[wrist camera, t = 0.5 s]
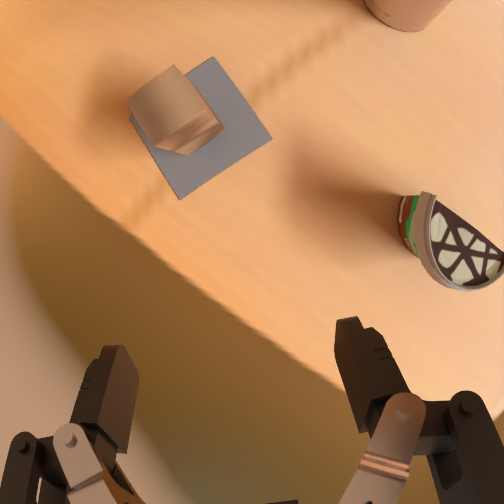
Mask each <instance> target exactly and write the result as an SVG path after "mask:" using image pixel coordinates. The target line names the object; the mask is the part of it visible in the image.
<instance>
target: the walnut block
mask: <svg viewBox="0 0 504 504" xmlns="http://www.w3.org/2000/svg"><path fill="white" fill-rule="evenodd" d="M126 103H127V105H128V106H129V108H130V110H131V111H132V113H133V115H134V116H135V118H136V120H137V121H138V123H139V124H140V126H141V128H142V129H143V131H144V133H145V134H146V136H147V138H148V139H149V141H150V142H151V144H152V146H154V147H158V148H162V149H165V150H169V151H172V152H176V153H179V154H183V155H186V156H190V155H191V154H192V153H194V152H195V151H197V150H198V149H200V148H201V147H202V146H204V145H205V144H207V143H208V142H210V141H211V140H213V139H214V138H216V137H217V136H219V135H220V134H222V133H223V132H225V131H226V130H227V129H226V128H225V127H224V125H223V124H222V122H221V121H220V119H219V118H218V116H217V115H216V113H215V112H214V110H213V109H212V107H211V106H210V105H209V103H208V102H207V100H206V99H205V97H204V96H203V95H202V94H201V93H200V91H199V90H198V89H197V88H196V87H195V86H194V85H193V84H192V83H191V82H190V81H189V80H188V79H187V78H186V77H185V76H184V75H183V73H182V72H181V71H180V70H179V69H178V68H177V67H176V66H175V65H174V64H173V65H172V66H171V67H169V68H168V69H166V70H165V71H164V72H162V73H161V74H159V75H158V76H157V77H155V78H154V79H153V80H151V81H150V82H149V83H147V84H146V85H145V86H143V87H142V88H141V89H140V90H138V91H137V92H136V93H135V94H133V95H132V96H131V97H130V98H128V99H127V100H126Z"/></svg>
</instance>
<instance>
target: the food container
mask: <svg viewBox="0 0 504 504" xmlns="http://www.w3.org/2000/svg"><path fill="white" fill-rule="evenodd" d="M436 198H437V195H432V194H431V193H427V192H423V191H421V194H420V195H415V196H402V199H401V202H400V204H399V209H398V217H397V221H398V229H399V234H400V236H401V238H402V240H403V243H404V244H405V246H406V247H407V248H408V249H409V250H410V251H411V252H412V253H413V254H414V255H416V256H417V257H418V258H419V259H420V260H421V263H422V265H423V266H424V268H425V269H426V271H427V273H428V274H429V275H430V276H431V277H432V278H433V279H434V280H435V281H437V282H438V283H439V284H441V285H443V286H445V287H447V288H451V289H456V290H460V291H473V290H478V289H482V288H485V287H487V286H489V285H491V284H493V283H494V282H495V281H497V280H498V279H499V278H500V277H501V276H502V275H503V274H504V252H503V251H501V250H500V249H499V248H497V247H496V246H495V245H494V244H493V243H492V242H490V241H489V240H488V239H487V238H486V237H485V236H484V235H482V234H481V233H480V232H479V231H478V230H477V229H475V228H474V227H473V226H471V225H470V224H469V223H467V222H466V221H465V220H463V219H462V218H460V217H459V216H458V215H456V214H455V213H454V212H452V211H451V210H450V209H448V208H447V207H446V206H444V205H443V204H441V203H440V202H438V201H437V200H436Z"/></svg>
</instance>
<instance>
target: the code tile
mask: <svg viewBox="0 0 504 504" xmlns="http://www.w3.org/2000/svg"><path fill="white" fill-rule="evenodd" d="M185 77H186V78H187V79H188V80H189V81H190V82H191V83H192V84H193V85H194V86H195V87H196V88H197V89H198V90H199V91H200V93H201V94H202V95H203V96H204V97H205V99H206V100H207V102H208V103H209V105H210V106H211V107H212V109H213V110H214V112H215V113H216V115H217V116H218V118H219V119H220V121H221V122H222V124H223V125H224V127H225V128H226V129H227V130H226V131H225V132H223V133H222V134H220V135H219V136H217V137H216V138H214V139H213V140H211V141H210V142H208V143H207V144H205V145H204V146H202V147H201V148H200V149H198V150H197V151H195V152H194V153H192V154H191V155H190V156H186V155H183V154H179V153H176V152H172V151H169V150H165V149H162V148H158V147H154V146H152V144H151V142H150V141H149V139H148V138H147V136H146V134H145V133H144V131H143V129H142V128H141V126H140V124H139V123H138V121H137V120H136V118H135V116H134V115H133V114H132V115H131V116H130V117H129V118H130V120H131V122H132V123H133V125H134V127H135V128H136V130H137V132H138V133H139V135H140V137H141V138H142V140H143V142H144V143H145V145H146V147H147V148H148V150H149V152H150V153H151V155H152V156H153V158H154V160H155V161H156V163H157V165H158V166H159V168H160V169H161V171H162V173H163V174H164V176H165V177H166V179H167V181H168V182H169V184H170V185H171V187H172V189H173V190H174V192H175V193H176V195H177V197H178V198H179V200H181V199H183V198H184V197H185V196H187V195H188V194H190V193H191V192H193V191H194V190H195V189H197V188H198V187H200V186H201V185H203V184H204V183H206V182H207V181H209V180H210V179H212V178H213V177H214V176H216V175H217V174H219V173H220V172H222V171H223V170H225V169H227V168H228V167H230V166H231V165H233V164H234V163H236V162H237V161H239V160H240V159H242V158H243V157H245V156H247V155H248V154H250V153H251V152H253V151H254V150H256V149H258V148H259V147H261V146H262V145H264V144H266V143H267V142H269V141H271V140H272V137H271V136H270V134H269V133H268V131H267V130H266V128H265V127H264V125H263V124H262V123H261V121H260V120H259V118H258V117H257V115H256V114H255V112H254V111H253V110H252V108H251V107H250V105H249V104H248V102H247V101H246V100H245V98H244V97H243V95H242V94H241V93H240V91H239V90H238V89H237V87H236V86H235V84H234V83H233V82H232V80H231V79H230V78H229V76H228V75H227V74H226V72H225V71H224V70H223V68H222V67H221V66H220V64H219V63H218V62H217V60H216V59H215V58H214V57H212V58H211V59H209V60H207V61H206V62H204V63H203V64H201V65H200V66H198V67H197V68H195V69H193V70H192V71H190V72H189V73H188V74H186V75H185Z"/></svg>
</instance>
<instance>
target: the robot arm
mask: <svg viewBox="0 0 504 504" xmlns="http://www.w3.org/2000/svg"><path fill="white" fill-rule="evenodd" d="M364 1H365V3H366V5H367V7H368V8H369V10H370V11H371V12H372V13H373V14H374V15H375V16H376V17H377V18H378V19H379V20H381V21H382V22H383V23H385V24H387V25H389V26H390V27H393V28H395V29H398V30H402V31H406V32H416V31H420V30H423V29H424V28H425V27H427V26H428V25H429V24H430V23H431V21H432V20H433V19H434V18H435V17H436V16H437V15H438V14H439V13H440V12H441V11H442V10H443V9H444V8H445V7H446V6H447V5H448V4H449V3H450V2H451V1H452V0H364ZM334 353H335V359H336V363H337V366H338V369H339V372H340V375H341V378H342V381H343V384H344V387H345V390H346V393H347V396H348V399H349V402H350V405H351V409H352V412H353V415H354V418H355V421H356V424H357V427H358V431H359V433H364V432H367V431H368V433H369V435H370V439H371V440H370V442H369V445H368V447H367V449H366V451H365V453H364V455H363V457H362V459H361V461H360V464H359V466H358V467H357V469H356V472H355V473H354V476H353V477H352V479H351V481H350V483H349V485H348V487H347V489H346V490H345V492H344V494H343V496H342V497H341V499H340V501H339V503H338V504H397V502H398V500H399V498H400V496H401V493H402V491H403V488H404V486H405V484H406V481H407V478H408V475H409V470H408V468H409V464H410V462H411V459H412V456H413V455H426V457H427V460H428V463H429V466H430V470H431V473H432V477H433V480H434V483H435V487H436V490H437V494H438V498H439V502H440V504H504V446H503V444H502V442H501V439H500V437H499V435H498V432H497V430H496V428H495V426H494V423H493V421H492V419H491V417H490V415H489V412H488V410H487V408H486V406H485V404H484V402H483V400H482V398H481V397H480V396H479V395H478V394H476V393H474V392H472V391H460V392H458V393H456V394H455V395H454V396H453V397H452V398H451V400H450V401H425V400H422V399H421V398H420V397H418V396H417V395H415V394H413V393H411V391H410V390H409V388H408V386H407V384H406V382H405V380H404V378H403V376H402V374H401V372H400V370H399V368H398V366H397V364H396V362H395V360H394V358H393V357H392V354H391V352H390V350H389V349H388V346H387V344H386V342H385V340H384V338H383V336H382V335H381V334H380V333H379V332H378V331H376V330H375V329H374V328H373V327H370V328H366V329H364V328H363V326H362V324H361V322H360V320H359V318H358V317H357V316H354V317H349V318H344V319H339V320H337V322H336V332H335V344H334ZM138 387H139V374H138V371H137V368H136V367H135V365H134V363H133V361H132V359H131V358H130V356H129V354H128V352H127V350H126V348H125V347H124V346H123V345H105V346H104V347H103V348H102V350H101V354H100V356H99V359H94V360H93V361H92V363H91V364H90V365H89V367H88V368H87V369H86V372H85V375H84V379H83V382H82V384H81V387H80V389H81V390H79V393H78V396H77V399H76V403H75V406H74V409H73V412H72V416H71V419H70V422H69V423H68V424H65V425H63V426H61V427H60V428H59V429H58V430H57V431H56V433H55V435H54V436H50V437H45V438H40V439H37V438H36V437H35V436H33V435H32V434H31V433H29V432H21V433H19V434H17V435H16V436H15V437H14V438H13V440H12V442H11V445H10V449H9V452H8V457H7V460H6V464H5V469H4V473H3V477H2V482H1V487H0V504H37V502H36V495H37V489H38V483H39V477H40V478H42V481H41V487H40V493H39V500H38V504H146V503H145V502H144V501H143V500H142V499H141V498H140V497H139V495H138V494H137V492H136V491H135V489H134V488H133V487H132V485H131V483H130V482H129V480H128V479H127V477H126V476H125V474H124V472H123V471H122V469H121V467H120V466H119V464H118V463H117V461H116V453H124V454H127V448H128V442H129V436H130V430H131V424H132V419H133V413H134V408H135V402H136V397H137V392H138ZM268 504H298V500H291V501H284V502H276V503H268Z"/></svg>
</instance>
